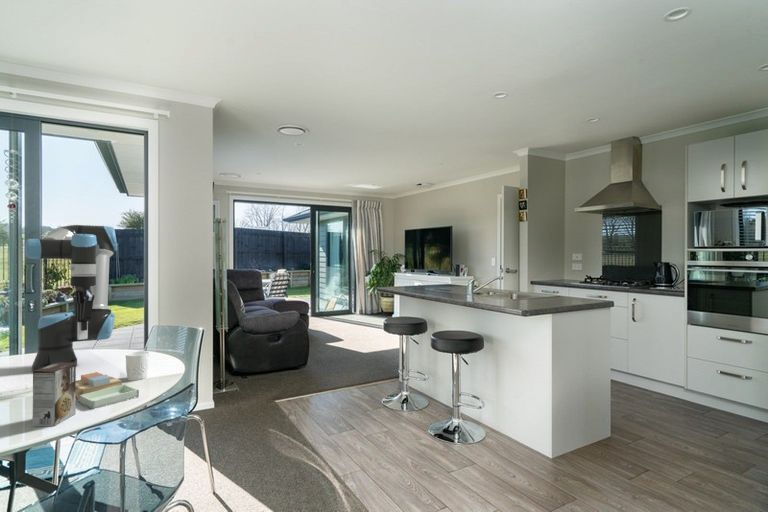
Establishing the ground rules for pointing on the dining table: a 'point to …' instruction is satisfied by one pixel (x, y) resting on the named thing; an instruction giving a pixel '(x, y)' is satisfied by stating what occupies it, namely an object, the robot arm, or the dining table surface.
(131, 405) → the dining table surface
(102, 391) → the tray
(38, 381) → the cookie box
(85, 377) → the tile
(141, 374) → the white cup
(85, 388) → the tan square panel
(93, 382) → the tile
